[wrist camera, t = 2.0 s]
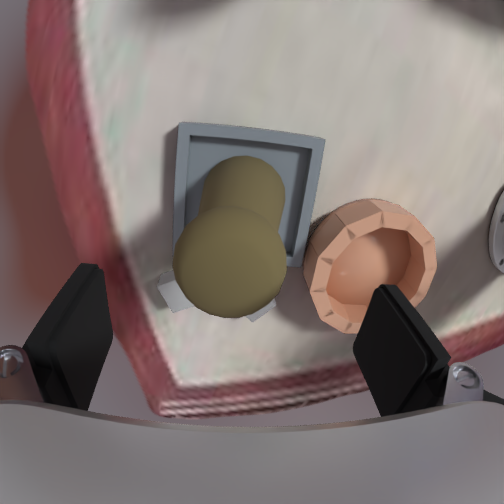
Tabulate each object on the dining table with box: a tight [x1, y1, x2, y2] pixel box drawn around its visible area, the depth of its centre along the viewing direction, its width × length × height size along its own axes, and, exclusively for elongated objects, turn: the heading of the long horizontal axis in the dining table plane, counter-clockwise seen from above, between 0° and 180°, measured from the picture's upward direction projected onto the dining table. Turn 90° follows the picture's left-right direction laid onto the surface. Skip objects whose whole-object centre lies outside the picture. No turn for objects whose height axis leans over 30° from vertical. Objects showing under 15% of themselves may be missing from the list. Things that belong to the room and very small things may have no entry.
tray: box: [173, 122, 325, 267], centre depth 23 cm, size 10×10×2 cm
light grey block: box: [157, 270, 194, 313], centre depth 26 cm, size 4×3×2 cm
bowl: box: [303, 199, 437, 334], centre depth 25 cm, size 11×11×4 cm
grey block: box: [246, 298, 276, 322], centre depth 26 cm, size 3×3×2 cm
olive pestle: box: [173, 156, 287, 318], centre depth 18 cm, size 6×6×11 cm
